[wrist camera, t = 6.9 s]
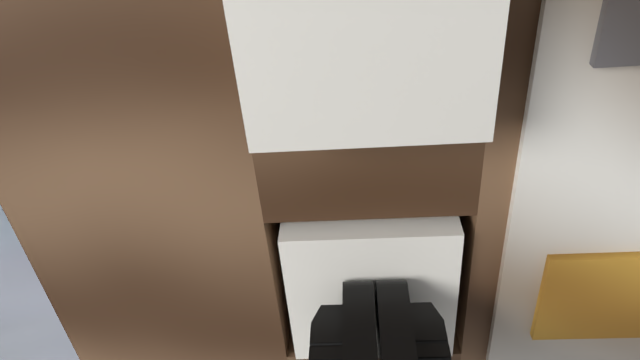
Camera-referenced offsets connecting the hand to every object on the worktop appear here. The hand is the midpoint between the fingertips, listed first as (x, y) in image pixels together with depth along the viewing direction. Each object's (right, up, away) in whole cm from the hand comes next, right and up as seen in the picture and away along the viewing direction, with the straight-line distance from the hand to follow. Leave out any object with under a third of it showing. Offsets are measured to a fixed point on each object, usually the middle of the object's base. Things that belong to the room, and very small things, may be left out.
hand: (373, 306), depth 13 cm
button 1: (0, +1, +2) cm, 2 cm away
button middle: (-1, +6, -3) cm, 7 cm away
